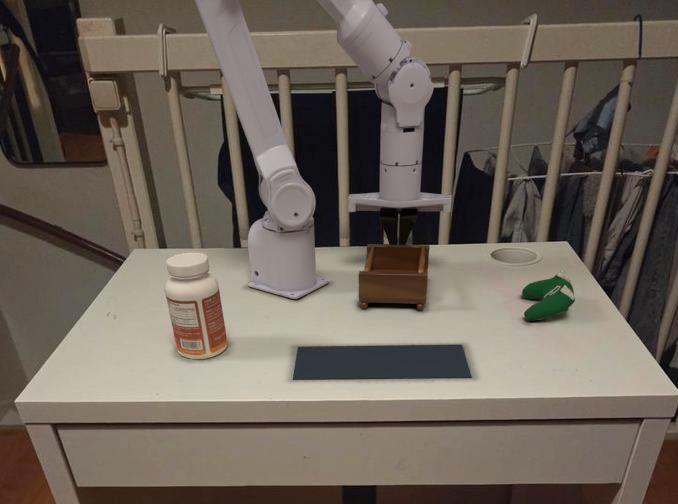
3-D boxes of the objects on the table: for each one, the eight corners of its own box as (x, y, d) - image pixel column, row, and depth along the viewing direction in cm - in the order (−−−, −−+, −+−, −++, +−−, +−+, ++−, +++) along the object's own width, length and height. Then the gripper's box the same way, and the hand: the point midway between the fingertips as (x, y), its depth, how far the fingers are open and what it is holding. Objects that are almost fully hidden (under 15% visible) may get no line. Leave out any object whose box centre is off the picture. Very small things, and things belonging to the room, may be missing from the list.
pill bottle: (219, 334, 80) (205, 246, 73) (234, 353, 75) (222, 262, 68) (171, 344, 78) (153, 255, 71) (184, 365, 73) (166, 272, 66)
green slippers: (539, 337, 80) (581, 307, 77) (521, 316, 79) (563, 285, 76) (535, 308, 87) (574, 280, 84) (519, 288, 86) (557, 259, 83)
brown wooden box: (367, 277, 94) (367, 244, 90) (427, 279, 92) (429, 245, 89) (358, 309, 84) (358, 273, 81) (425, 311, 83) (427, 275, 80)
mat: (292, 379, 70) (292, 378, 70) (297, 347, 76) (297, 346, 76) (471, 377, 69) (471, 376, 69) (462, 345, 75) (462, 344, 75)
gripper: (454, 155, 87) (446, 253, 95) (351, 155, 89) (352, 251, 97) (454, 166, 81) (446, 269, 90) (345, 166, 83) (347, 267, 92)
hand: (397, 261), depth 93 cm, fingers closed, pressing on brown wooden box
